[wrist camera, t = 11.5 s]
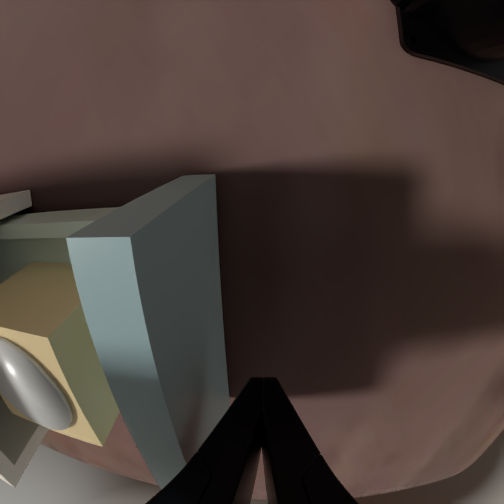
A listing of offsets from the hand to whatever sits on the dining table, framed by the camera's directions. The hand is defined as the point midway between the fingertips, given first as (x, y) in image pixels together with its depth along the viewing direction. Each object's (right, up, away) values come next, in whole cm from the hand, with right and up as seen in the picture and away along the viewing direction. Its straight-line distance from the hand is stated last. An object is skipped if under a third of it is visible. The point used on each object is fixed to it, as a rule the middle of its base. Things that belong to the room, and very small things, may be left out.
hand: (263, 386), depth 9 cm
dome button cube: (-8, +1, +3) cm, 9 cm away
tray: (-8, +2, +4) cm, 9 cm away
